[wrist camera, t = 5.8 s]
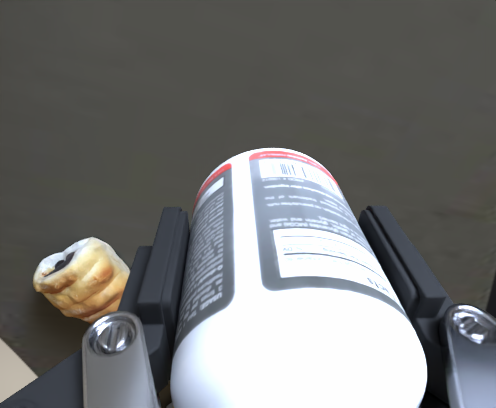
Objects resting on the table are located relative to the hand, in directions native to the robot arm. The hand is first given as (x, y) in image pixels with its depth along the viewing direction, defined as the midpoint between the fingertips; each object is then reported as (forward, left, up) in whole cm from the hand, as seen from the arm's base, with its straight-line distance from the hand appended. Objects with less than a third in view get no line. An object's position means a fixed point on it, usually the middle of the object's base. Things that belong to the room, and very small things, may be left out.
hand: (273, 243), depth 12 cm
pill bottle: (0, 0, -2) cm, 2 cm away
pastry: (+13, -13, -13) cm, 22 cm away
